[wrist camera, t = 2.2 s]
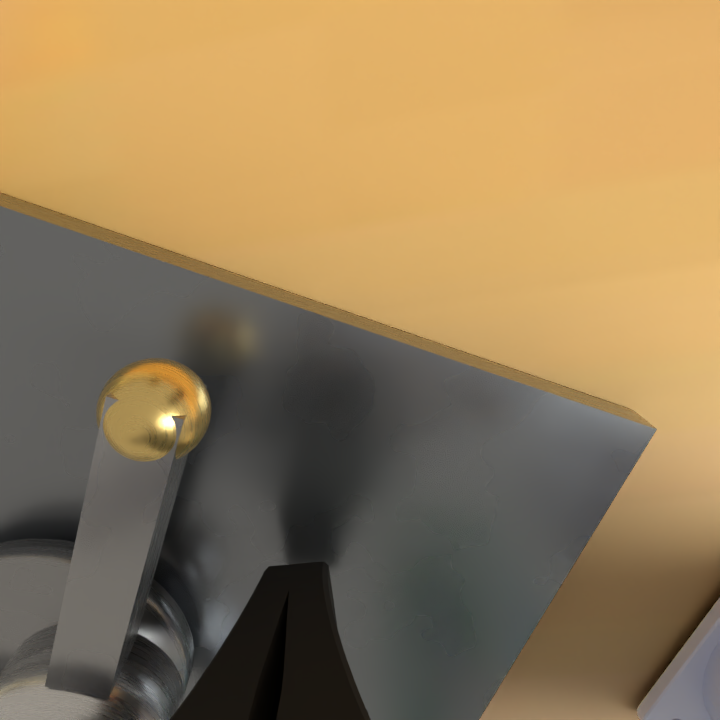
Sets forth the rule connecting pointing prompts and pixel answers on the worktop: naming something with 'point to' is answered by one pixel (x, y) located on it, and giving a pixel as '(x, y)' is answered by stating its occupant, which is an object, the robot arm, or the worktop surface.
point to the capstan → (108, 568)
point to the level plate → (309, 457)
